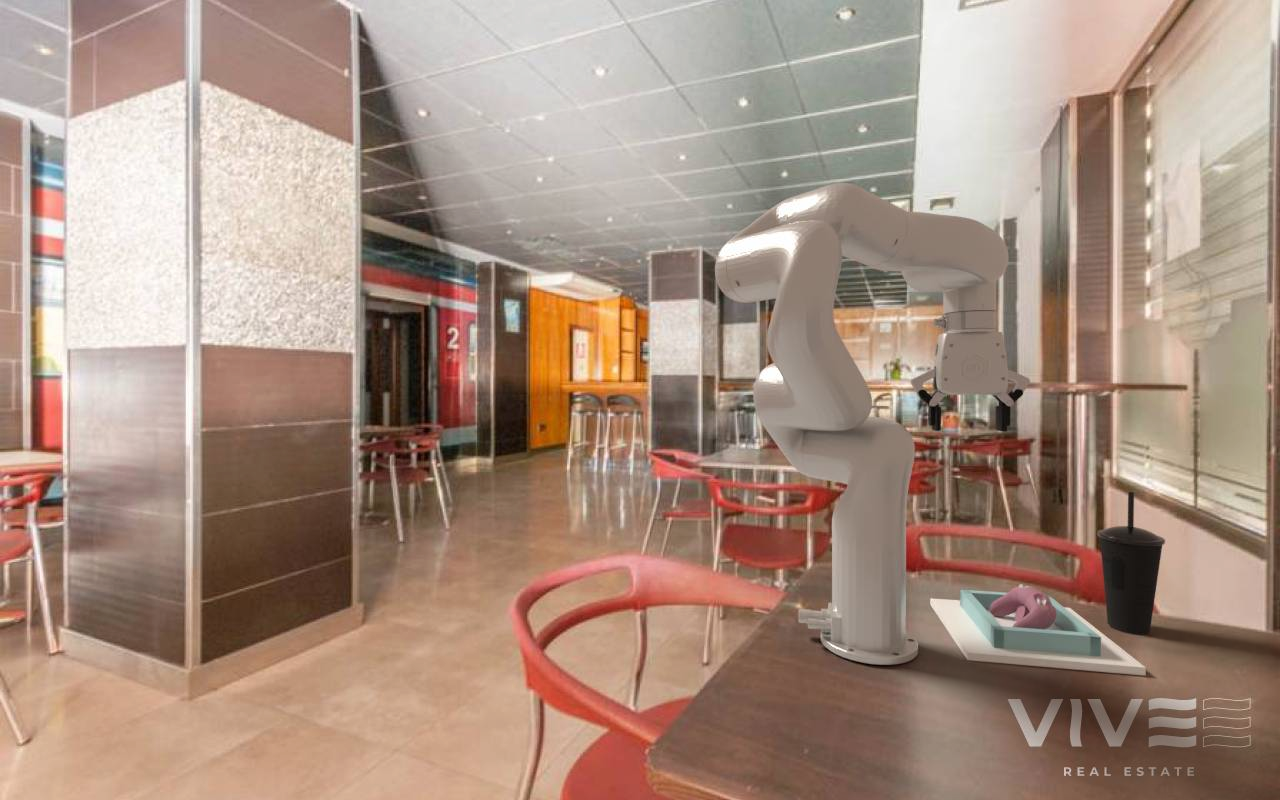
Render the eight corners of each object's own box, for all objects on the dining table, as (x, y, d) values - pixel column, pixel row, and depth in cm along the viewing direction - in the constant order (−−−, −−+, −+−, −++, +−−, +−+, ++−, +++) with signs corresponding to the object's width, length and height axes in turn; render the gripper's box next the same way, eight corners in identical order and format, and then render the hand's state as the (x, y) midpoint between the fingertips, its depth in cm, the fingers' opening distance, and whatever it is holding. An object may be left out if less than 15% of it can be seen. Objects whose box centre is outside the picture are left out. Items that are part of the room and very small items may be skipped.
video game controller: (1043, 655, 81) (1070, 610, 80) (1009, 637, 82) (1035, 593, 81) (1014, 625, 91) (1038, 586, 90) (985, 610, 92) (1008, 570, 91)
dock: (967, 660, 79) (967, 633, 79) (930, 604, 98) (930, 583, 98) (1145, 675, 74) (1146, 647, 74) (1069, 614, 94) (1069, 591, 94)
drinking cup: (1173, 642, 83) (1176, 498, 83) (1107, 634, 86) (1109, 495, 85) (1149, 621, 91) (1151, 489, 90) (1088, 614, 93) (1090, 486, 93)
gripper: (916, 324, 96) (916, 432, 96) (1039, 321, 92) (1037, 433, 92) (906, 328, 103) (906, 428, 103) (1019, 325, 99) (1018, 429, 100)
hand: (968, 430), depth 98 cm, fingers open, 9 cm apart
